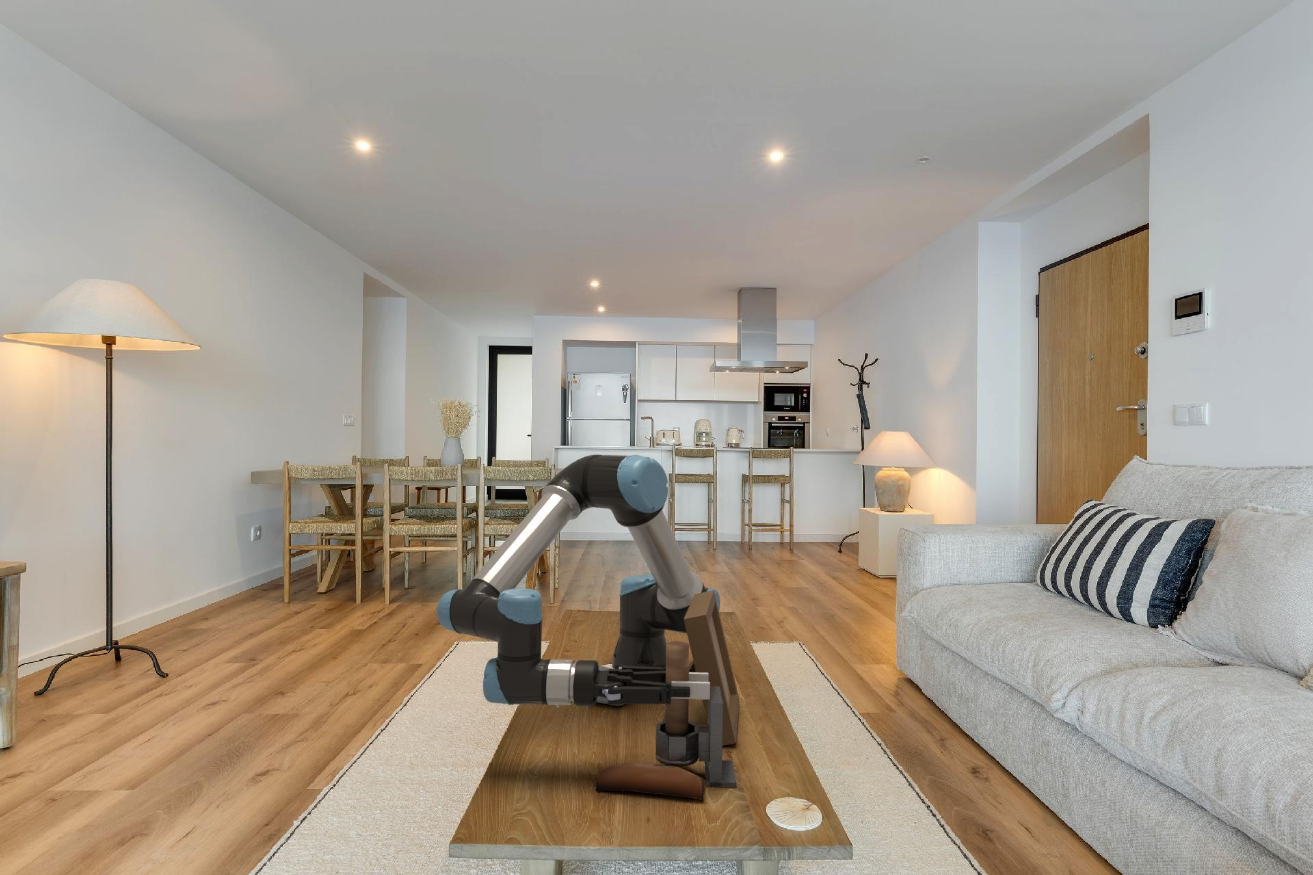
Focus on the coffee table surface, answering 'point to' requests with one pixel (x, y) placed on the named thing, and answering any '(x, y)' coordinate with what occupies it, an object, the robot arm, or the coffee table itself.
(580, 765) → the coffee table surface
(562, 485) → the robot arm
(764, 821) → the coffee table surface
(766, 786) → the coffee table surface
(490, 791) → the coffee table surface
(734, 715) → the photo frame
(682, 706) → the brown wooden dowel
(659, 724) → the bracket
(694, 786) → the sunglasses case
